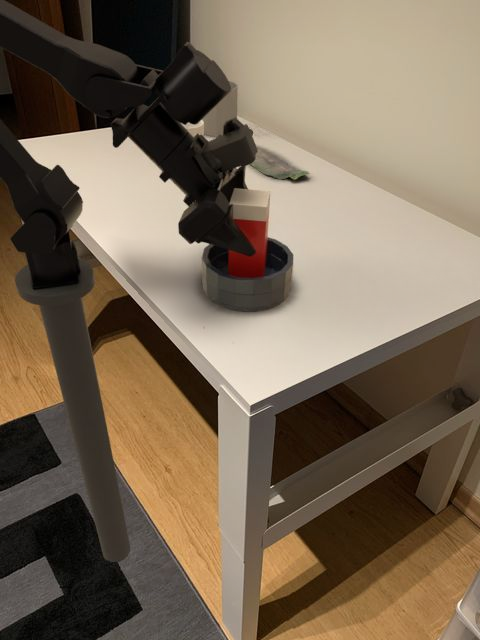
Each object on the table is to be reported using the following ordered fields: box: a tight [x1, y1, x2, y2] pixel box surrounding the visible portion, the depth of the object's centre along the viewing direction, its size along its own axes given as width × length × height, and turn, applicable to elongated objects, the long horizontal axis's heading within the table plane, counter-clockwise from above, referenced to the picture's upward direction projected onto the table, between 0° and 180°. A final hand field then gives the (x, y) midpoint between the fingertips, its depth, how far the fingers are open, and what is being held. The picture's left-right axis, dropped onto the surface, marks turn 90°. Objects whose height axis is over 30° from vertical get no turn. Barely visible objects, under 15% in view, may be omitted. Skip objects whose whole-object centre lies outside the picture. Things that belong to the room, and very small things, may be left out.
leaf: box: [249, 146, 311, 180], centre depth 115 cm, size 20×8×1 cm, turn 32°
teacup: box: [181, 120, 205, 137], centre depth 118 cm, size 10×8×5 cm
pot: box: [201, 236, 294, 313], centre depth 78 cm, size 13×13×5 cm
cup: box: [202, 80, 239, 138], centre depth 126 cm, size 8×8×10 cm
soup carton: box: [229, 188, 271, 278], centre depth 75 cm, size 5×5×13 cm
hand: (257, 237), depth 75 cm, fingers open, 9 cm apart
